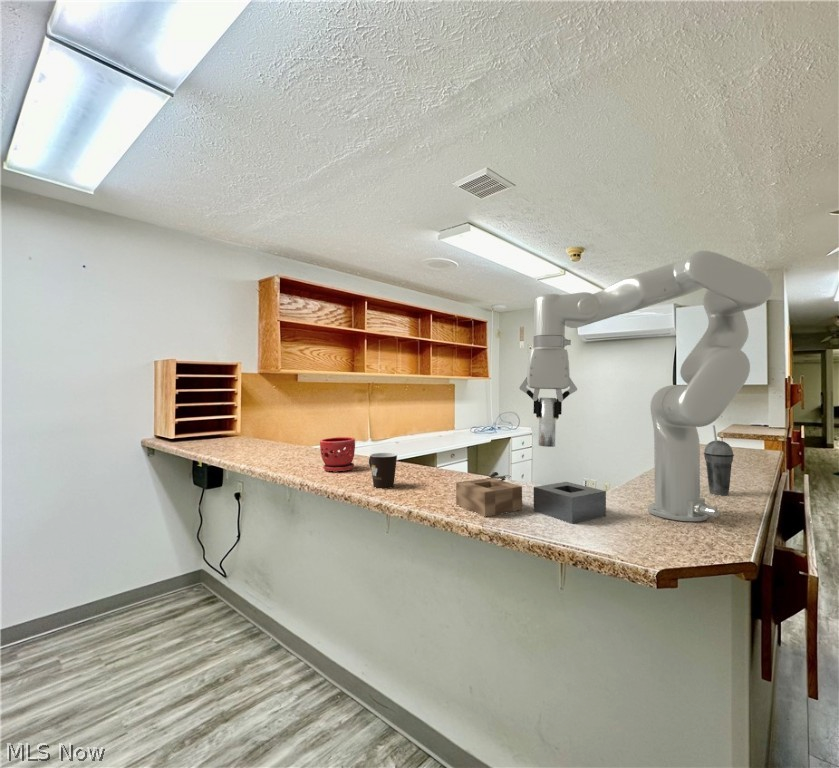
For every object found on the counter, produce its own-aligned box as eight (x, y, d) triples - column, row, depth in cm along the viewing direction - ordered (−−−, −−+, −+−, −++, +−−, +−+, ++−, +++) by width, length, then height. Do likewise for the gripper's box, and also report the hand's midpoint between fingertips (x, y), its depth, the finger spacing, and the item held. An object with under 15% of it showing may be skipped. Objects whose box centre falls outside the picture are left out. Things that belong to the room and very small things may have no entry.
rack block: (522, 509, 108) (522, 486, 108) (485, 517, 102) (484, 492, 102) (491, 499, 118) (491, 477, 118) (456, 505, 112) (456, 482, 112)
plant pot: (335, 465, 170) (335, 436, 170) (361, 468, 163) (361, 437, 164) (312, 471, 159) (312, 439, 159) (339, 474, 152) (339, 441, 152)
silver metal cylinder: (558, 446, 105) (559, 398, 105) (547, 447, 103) (548, 398, 103) (546, 444, 109) (547, 397, 109) (535, 444, 107) (536, 397, 107)
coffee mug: (399, 488, 131) (399, 456, 131) (372, 490, 129) (372, 457, 129) (392, 480, 142) (392, 451, 142) (366, 482, 140) (366, 452, 140)
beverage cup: (740, 497, 119) (739, 426, 119) (711, 496, 120) (711, 426, 121) (725, 491, 126) (725, 424, 127) (699, 490, 127) (698, 424, 128)
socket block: (606, 515, 102) (605, 491, 103) (572, 523, 96) (571, 497, 97) (566, 504, 113) (566, 481, 113) (533, 510, 107) (533, 487, 107)
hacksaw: (493, 475, 153) (493, 471, 153) (521, 477, 148) (521, 473, 149) (471, 489, 131) (471, 484, 131) (504, 493, 127) (504, 488, 127)
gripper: (582, 345, 108) (580, 417, 108) (515, 346, 112) (513, 415, 112) (586, 342, 101) (584, 419, 100) (514, 342, 105) (512, 416, 105)
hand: (547, 416), depth 106 cm, fingers closed on silver metal cylinder, 4 cm apart
